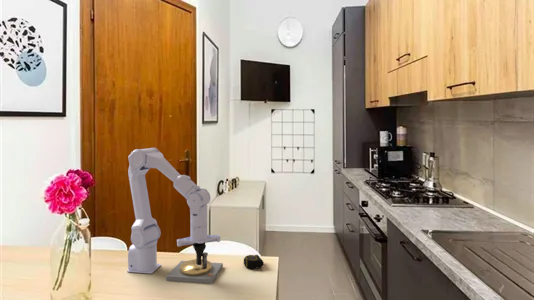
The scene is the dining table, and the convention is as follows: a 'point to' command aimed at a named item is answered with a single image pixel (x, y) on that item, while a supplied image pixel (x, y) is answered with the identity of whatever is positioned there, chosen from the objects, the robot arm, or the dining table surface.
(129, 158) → the robot arm
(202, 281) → the stand
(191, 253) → the dining table surface
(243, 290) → the dining table surface
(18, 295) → the dining table surface
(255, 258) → the tape measure
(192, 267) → the brass disc with crank
